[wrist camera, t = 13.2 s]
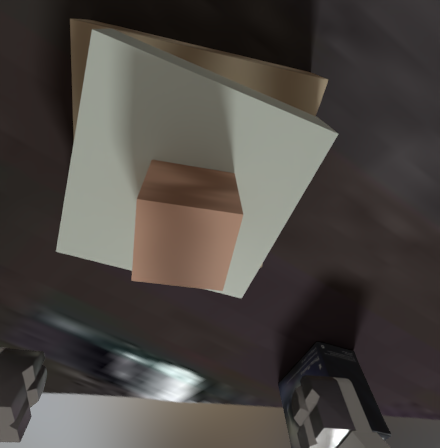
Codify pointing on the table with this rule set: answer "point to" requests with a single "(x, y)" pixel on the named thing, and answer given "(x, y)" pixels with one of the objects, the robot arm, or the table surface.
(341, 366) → the small box
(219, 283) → the terracotta cube
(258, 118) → the sage block
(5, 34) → the table surface
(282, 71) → the birch slab
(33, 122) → the table surface
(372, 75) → the table surface
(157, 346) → the table surface
